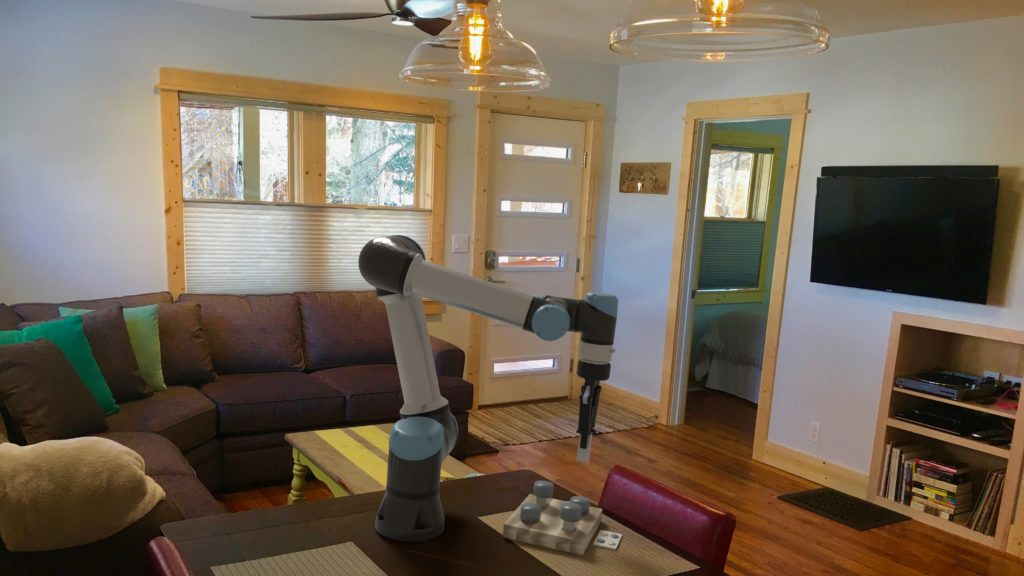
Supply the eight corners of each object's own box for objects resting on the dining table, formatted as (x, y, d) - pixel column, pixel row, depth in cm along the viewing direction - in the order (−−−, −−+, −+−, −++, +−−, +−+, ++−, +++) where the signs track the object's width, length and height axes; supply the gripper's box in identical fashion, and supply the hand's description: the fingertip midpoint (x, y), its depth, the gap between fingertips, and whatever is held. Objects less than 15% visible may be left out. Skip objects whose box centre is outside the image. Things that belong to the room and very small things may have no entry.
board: (502, 537, 164) (503, 524, 164) (528, 505, 183) (529, 493, 183) (582, 555, 159) (584, 541, 159) (601, 521, 178) (602, 508, 178)
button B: (529, 508, 175) (531, 485, 175) (535, 502, 180) (537, 479, 179) (548, 512, 174) (550, 489, 174) (553, 506, 178) (555, 483, 178)
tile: (593, 545, 164) (593, 542, 164) (600, 531, 172) (600, 529, 172) (615, 550, 163) (615, 547, 163) (621, 536, 170) (622, 533, 170)
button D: (566, 525, 173) (568, 501, 172) (570, 517, 177) (573, 494, 177) (585, 529, 172) (588, 505, 171) (589, 521, 176) (592, 498, 175)
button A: (515, 533, 166) (518, 508, 166) (522, 525, 171) (524, 501, 170) (535, 537, 165) (538, 512, 164) (541, 529, 169) (543, 505, 169)
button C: (555, 533, 163) (558, 508, 163) (561, 525, 168) (563, 501, 167) (576, 537, 162) (579, 512, 161) (581, 529, 166) (583, 505, 166)
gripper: (605, 368, 163) (592, 472, 166) (616, 358, 176) (604, 456, 178) (572, 362, 166) (560, 465, 168) (584, 353, 178) (573, 449, 180)
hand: (582, 460), depth 173 cm, fingers closed
